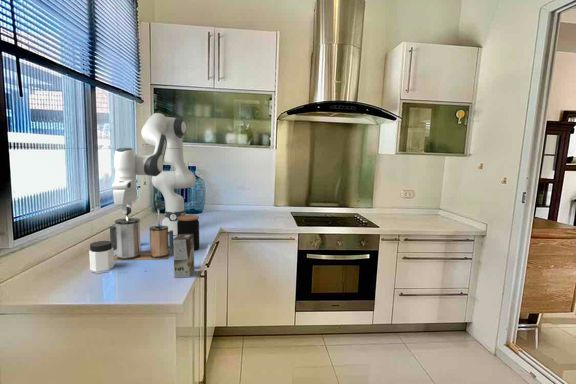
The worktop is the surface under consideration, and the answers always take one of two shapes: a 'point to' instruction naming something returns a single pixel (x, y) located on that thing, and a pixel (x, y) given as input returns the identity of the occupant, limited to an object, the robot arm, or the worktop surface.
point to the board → (145, 256)
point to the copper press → (160, 241)
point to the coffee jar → (189, 227)
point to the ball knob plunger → (158, 205)
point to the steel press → (126, 238)
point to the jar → (101, 256)
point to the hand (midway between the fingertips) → (127, 212)
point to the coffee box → (183, 255)
